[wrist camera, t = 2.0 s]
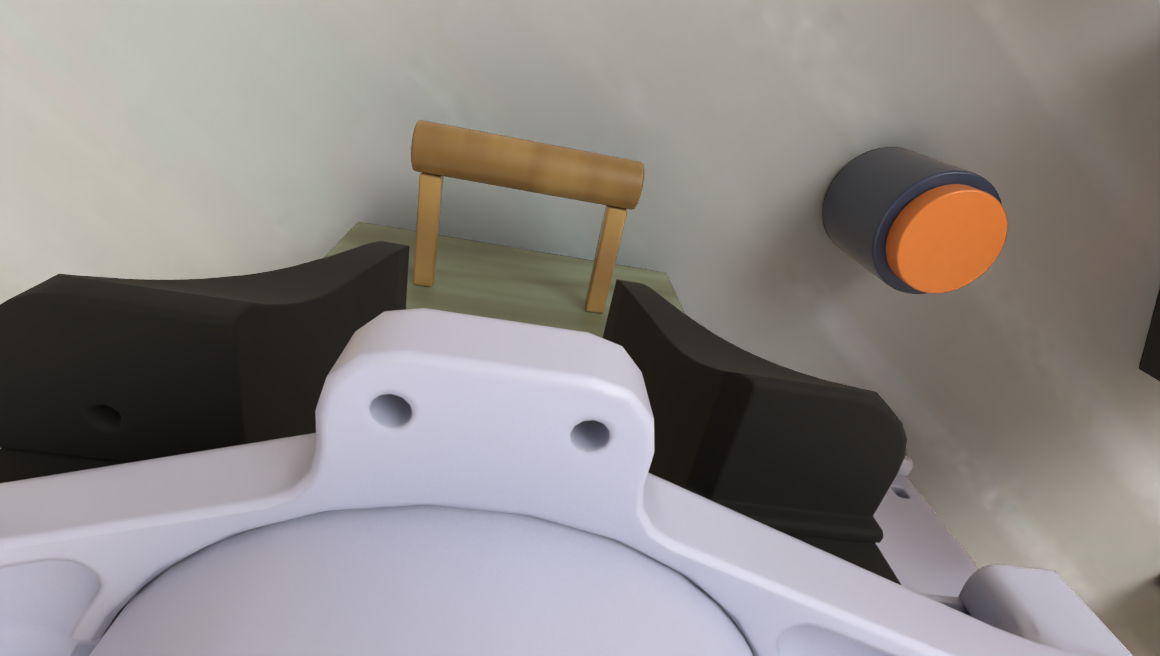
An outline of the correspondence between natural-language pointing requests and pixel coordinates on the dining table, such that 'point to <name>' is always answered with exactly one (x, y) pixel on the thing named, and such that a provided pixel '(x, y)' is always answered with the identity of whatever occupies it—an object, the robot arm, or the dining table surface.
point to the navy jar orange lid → (915, 220)
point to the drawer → (507, 274)
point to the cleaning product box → (1153, 346)
